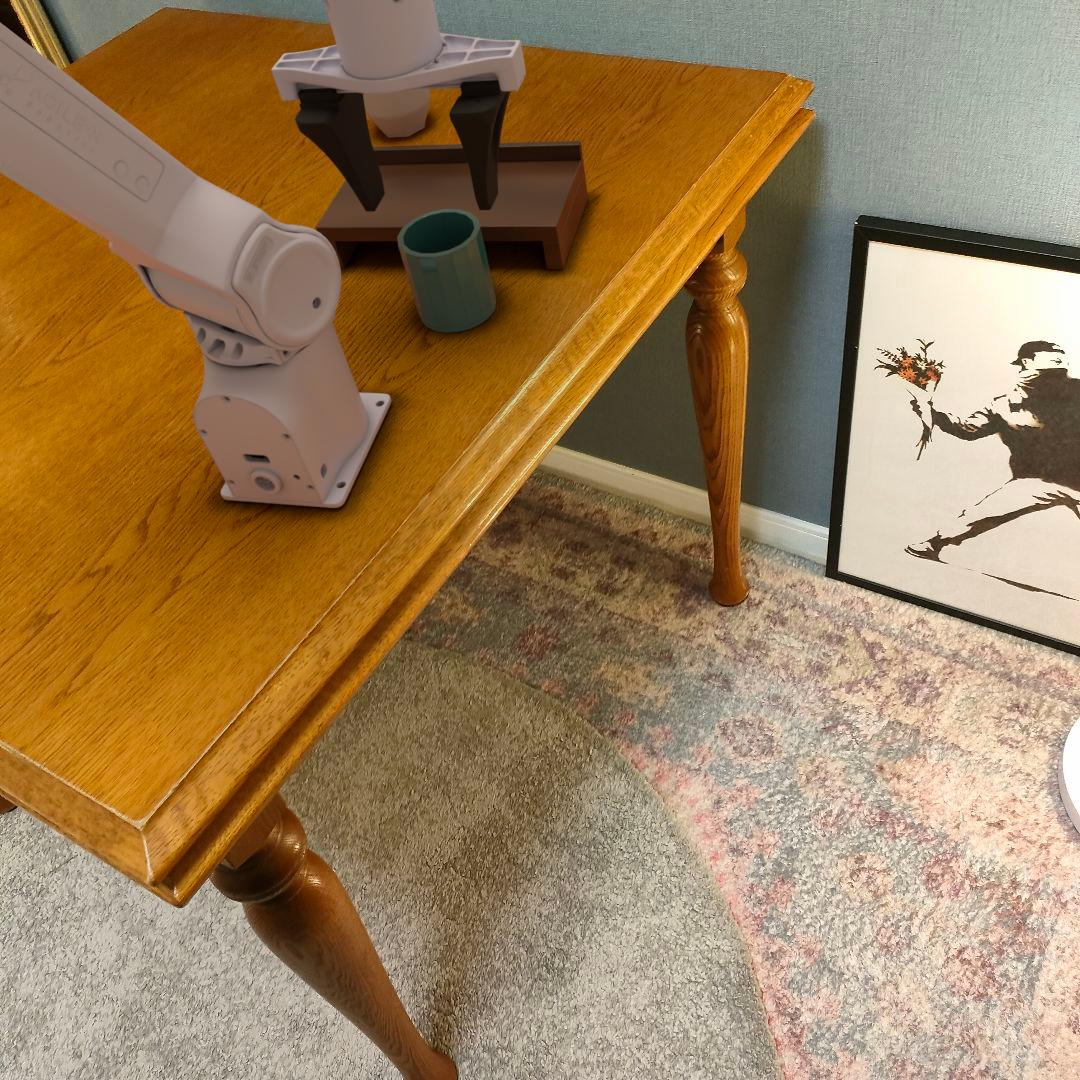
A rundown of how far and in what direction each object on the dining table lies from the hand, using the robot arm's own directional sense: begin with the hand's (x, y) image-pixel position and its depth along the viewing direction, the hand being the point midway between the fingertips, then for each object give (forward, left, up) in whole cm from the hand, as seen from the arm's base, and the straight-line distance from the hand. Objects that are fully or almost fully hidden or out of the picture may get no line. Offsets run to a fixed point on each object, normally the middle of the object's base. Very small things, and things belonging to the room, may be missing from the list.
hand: (431, 202), depth 63 cm
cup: (0, 0, -8) cm, 8 cm away
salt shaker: (+25, +13, -8) cm, 30 cm away
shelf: (+9, +3, -8) cm, 12 cm away
